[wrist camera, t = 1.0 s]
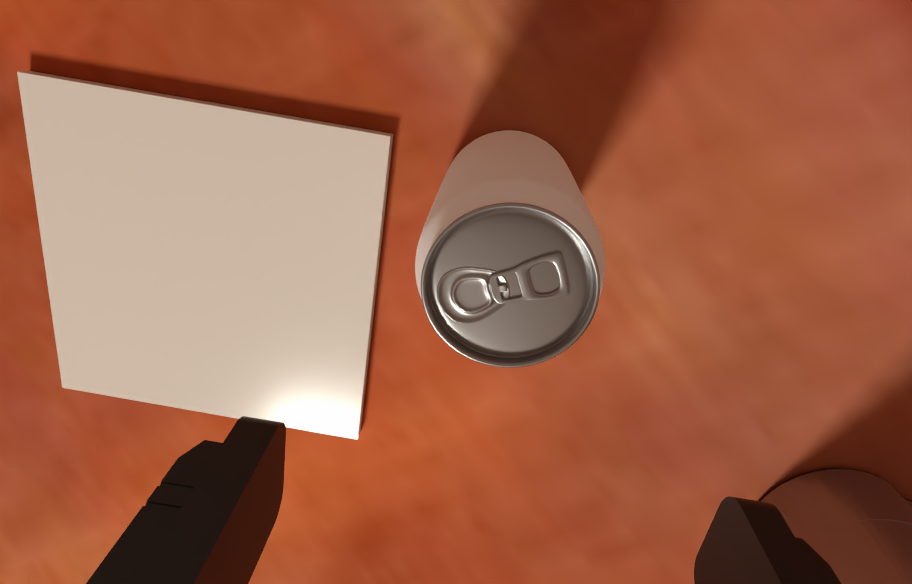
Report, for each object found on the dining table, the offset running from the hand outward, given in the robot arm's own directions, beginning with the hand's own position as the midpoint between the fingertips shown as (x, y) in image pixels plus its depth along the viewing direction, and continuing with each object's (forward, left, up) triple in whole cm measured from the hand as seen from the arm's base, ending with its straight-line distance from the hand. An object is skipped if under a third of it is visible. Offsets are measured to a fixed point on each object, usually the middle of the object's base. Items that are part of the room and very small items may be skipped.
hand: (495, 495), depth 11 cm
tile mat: (+15, +7, -21) cm, 26 cm away
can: (0, 0, -21) cm, 21 cm away
